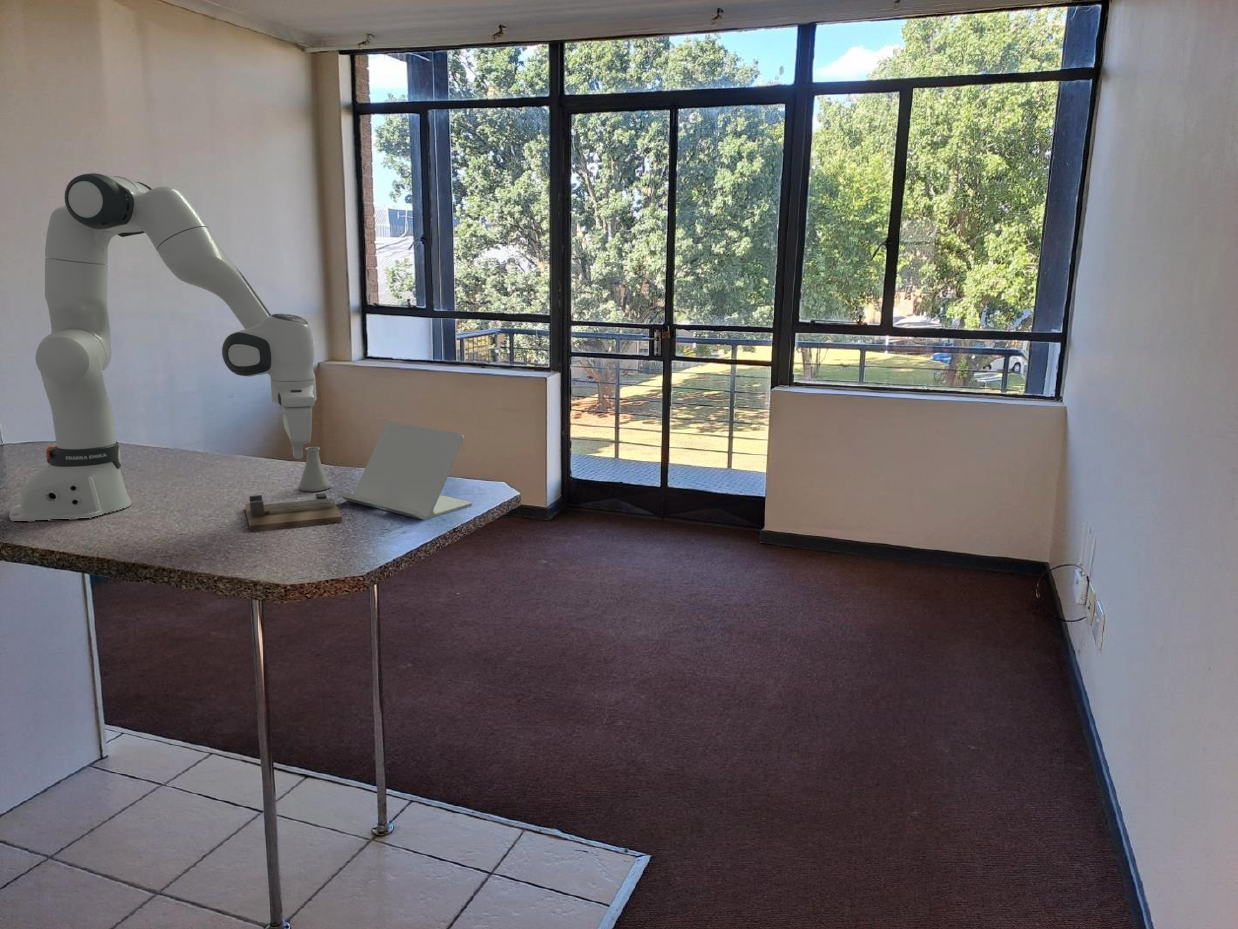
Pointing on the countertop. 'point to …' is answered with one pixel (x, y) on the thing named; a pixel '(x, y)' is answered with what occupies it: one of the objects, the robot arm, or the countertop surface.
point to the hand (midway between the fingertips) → (298, 457)
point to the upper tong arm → (298, 501)
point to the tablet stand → (410, 472)
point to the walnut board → (292, 518)
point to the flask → (313, 472)
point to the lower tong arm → (258, 508)
